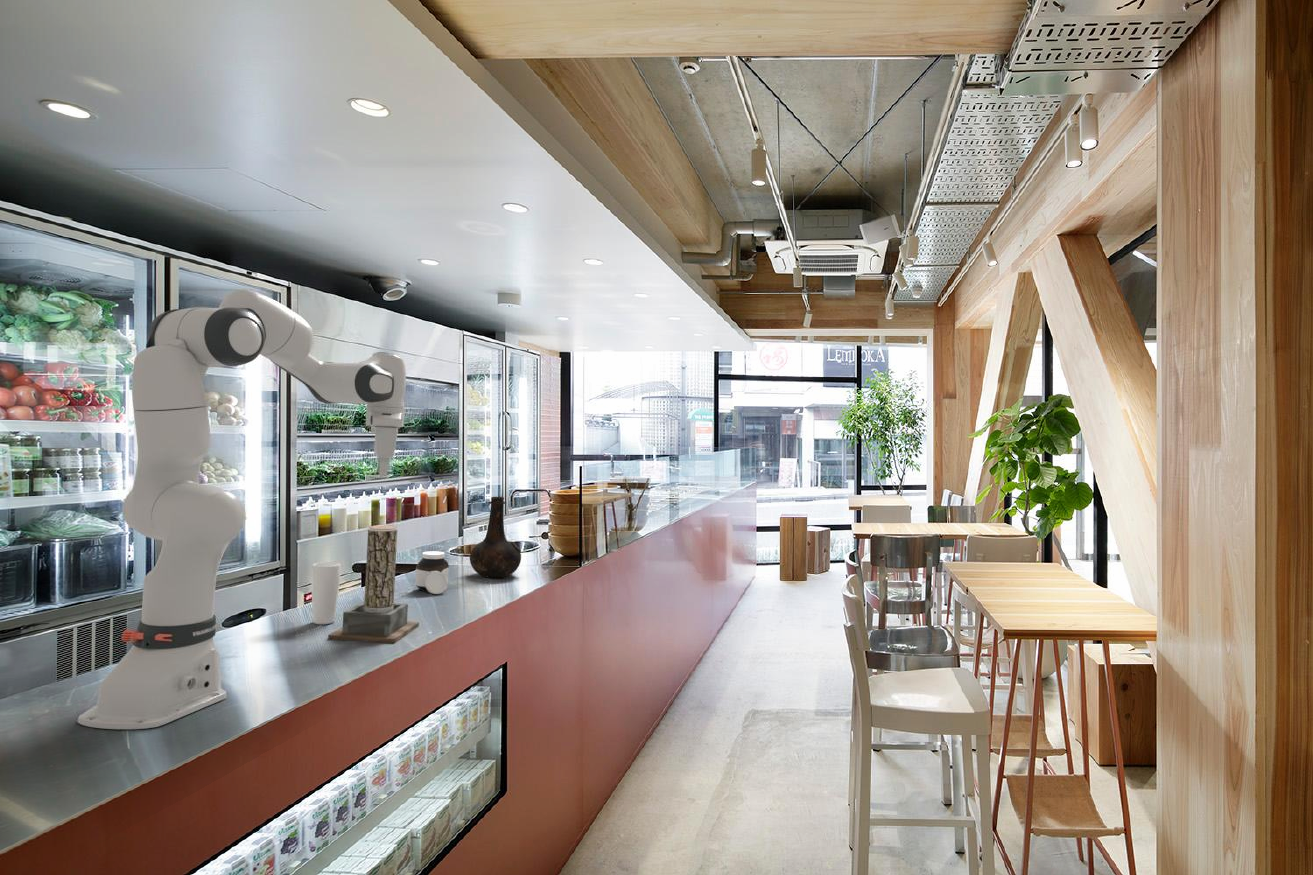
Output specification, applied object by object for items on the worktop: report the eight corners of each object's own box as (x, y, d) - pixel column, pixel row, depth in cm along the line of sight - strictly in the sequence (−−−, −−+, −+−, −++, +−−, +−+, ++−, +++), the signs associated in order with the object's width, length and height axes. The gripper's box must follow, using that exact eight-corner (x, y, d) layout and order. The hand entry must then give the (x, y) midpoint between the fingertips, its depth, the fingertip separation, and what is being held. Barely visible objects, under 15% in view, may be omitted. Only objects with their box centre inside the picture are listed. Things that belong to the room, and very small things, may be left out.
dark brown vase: (515, 581, 249) (519, 500, 249) (463, 579, 249) (467, 497, 249) (524, 572, 267) (527, 496, 267) (475, 569, 267) (479, 493, 267)
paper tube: (382, 633, 177) (387, 530, 177) (357, 630, 178) (362, 528, 178) (397, 626, 183) (402, 526, 183) (373, 623, 184) (378, 525, 184)
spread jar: (433, 585, 237) (435, 549, 237) (460, 590, 232) (462, 553, 232) (406, 591, 227) (408, 554, 227) (433, 596, 222) (435, 558, 222)
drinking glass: (343, 621, 189) (346, 563, 189) (322, 627, 182) (325, 567, 182) (325, 617, 191) (328, 560, 191) (303, 623, 185) (305, 564, 185)
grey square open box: (394, 643, 172) (396, 617, 172) (328, 639, 173) (329, 613, 173) (418, 625, 188) (420, 602, 188) (357, 622, 189) (358, 599, 189)
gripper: (370, 418, 189) (367, 472, 189) (372, 418, 170) (369, 477, 170) (395, 420, 191) (393, 472, 191) (401, 419, 172) (398, 478, 172)
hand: (382, 474), depth 180 cm, fingers open, 8 cm apart
